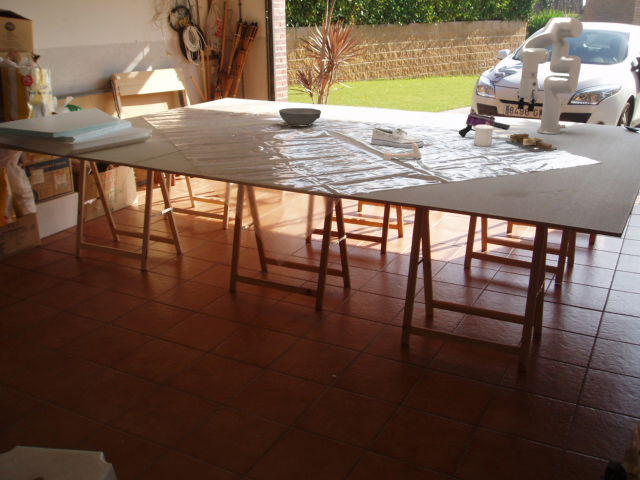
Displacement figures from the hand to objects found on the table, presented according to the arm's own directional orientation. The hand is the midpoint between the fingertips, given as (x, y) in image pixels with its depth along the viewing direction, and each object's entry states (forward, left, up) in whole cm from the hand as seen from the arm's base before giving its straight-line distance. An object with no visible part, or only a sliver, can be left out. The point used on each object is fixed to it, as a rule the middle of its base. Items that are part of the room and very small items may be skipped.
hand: (525, 110), depth 303 cm
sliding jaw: (-2, +7, -17) cm, 18 cm away
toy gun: (+9, -23, -18) cm, 31 cm away
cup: (+19, -7, -18) cm, 27 cm away
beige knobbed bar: (+71, +8, -18) cm, 74 cm away
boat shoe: (+62, -22, -18) cm, 68 cm away
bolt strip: (-2, +5, -18) cm, 19 cm away
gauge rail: (-2, +5, -18) cm, 19 cm away
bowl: (+96, -96, -18) cm, 137 cm away
